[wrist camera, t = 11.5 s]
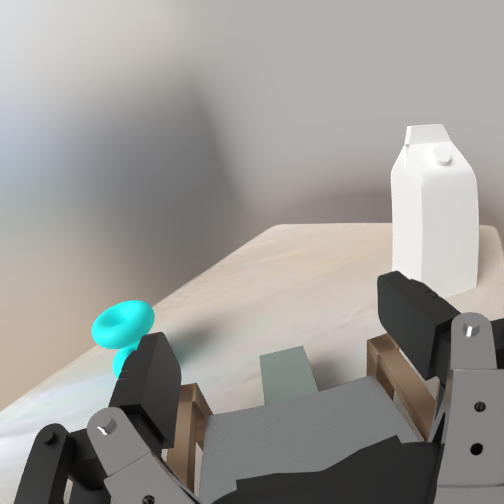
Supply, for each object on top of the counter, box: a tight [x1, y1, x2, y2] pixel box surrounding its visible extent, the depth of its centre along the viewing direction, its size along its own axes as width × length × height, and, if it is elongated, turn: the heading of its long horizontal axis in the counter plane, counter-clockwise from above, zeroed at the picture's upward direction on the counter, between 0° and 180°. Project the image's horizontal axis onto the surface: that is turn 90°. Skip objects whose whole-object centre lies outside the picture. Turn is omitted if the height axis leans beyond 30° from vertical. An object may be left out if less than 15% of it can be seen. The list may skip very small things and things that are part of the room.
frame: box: [166, 333, 436, 494], centre depth 15 cm, size 18×18×11 cm
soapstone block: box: [260, 346, 319, 405], centre depth 27 cm, size 5×5×12 cm
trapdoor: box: [199, 374, 420, 504], centre depth 12 cm, size 17×13×3 cm
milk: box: [391, 124, 479, 299], centre depth 40 cm, size 12×12×26 cm
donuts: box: [92, 300, 155, 378], centre depth 40 cm, size 10×10×10 cm
